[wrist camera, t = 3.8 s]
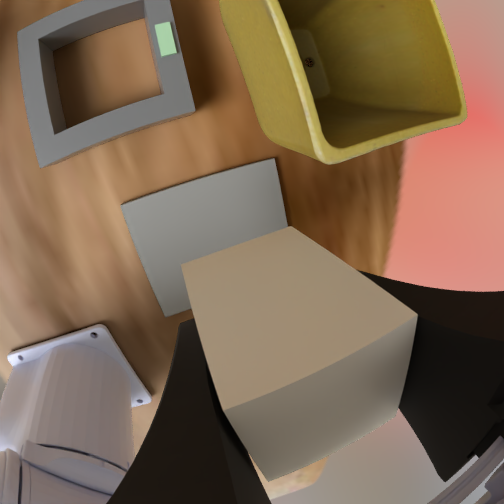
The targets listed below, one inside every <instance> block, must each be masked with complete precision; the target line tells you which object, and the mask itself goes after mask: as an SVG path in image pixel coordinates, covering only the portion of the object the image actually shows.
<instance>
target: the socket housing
mask: <svg viewBox="0 0 504 504" xmlns="http://www.w3.org/2000/svg"><path fill="white" fill-rule="evenodd" d="M142 18H145V23H146V28H147V33H148V37H149V42H150V47H151V51H152V56H153V60H154V65H155V69H156V74H157V78H158V82H159V86H160V91H161V95H158V96H155V97H152V98H148V99H145V100H142V101H139V102H136V103H133V104H130V105H127V106H124V107H121V108H118V109H115V110H113V111H110V112H107V113H105V114H102V115H100V116H97V117H94V118H92V119H90V120H87V121H85V122H82V123H80V124H78V125H75V126H73V127H71V128H69V129H67V127H66V122H65V118H64V114H63V109H62V104H61V100H60V94H59V89H58V84H57V78H56V72H55V65H54V58H53V51H54V50H56V49H58V48H61V47H63V46H65V45H67V44H69V43H72V42H74V41H77V40H79V39H81V38H84V37H87V36H89V35H92V34H94V33H97V32H100V31H103V30H106V29H108V28H111V27H115V26H118V25H121V24H124V23H127V22H131V21H134V20H138V19H142ZM17 37H18V53H19V64H20V73H21V81H22V88H23V95H24V101H25V107H26V112H27V117H28V122H29V127H30V131H31V136H32V140H33V144H34V148H35V152H36V155H37V159H38V163H39V166H40V168H43V167H47V166H51V165H54V164H57V163H59V162H61V161H64V160H66V159H68V158H70V157H72V156H75V155H77V154H79V153H82V152H84V151H86V150H89V149H91V148H94V147H96V146H99V145H101V144H104V143H106V142H109V141H112V140H114V139H117V138H120V137H122V136H125V135H128V134H131V133H134V132H137V131H140V130H143V129H146V128H149V127H152V126H155V125H158V124H162V123H165V122H168V121H172V120H175V119H179V118H182V117H186V116H190V115H191V114H192V113H193V112H195V111H196V110H195V106H194V102H193V98H192V94H191V90H190V85H189V81H188V77H187V73H186V69H185V65H184V60H183V56H182V52H181V48H180V43H179V39H178V35H177V30H176V26H175V22H174V17H173V13H172V8H171V4H170V0H84V1H81V2H78V3H76V4H73V5H71V6H69V7H66V8H64V9H62V10H59V11H57V12H55V13H53V14H51V15H49V16H47V17H44V18H42V19H40V20H38V21H37V22H35V23H33V24H31V25H29V26H27V27H25V28H23V29H22V30H20V31H18V32H17Z"/></svg>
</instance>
